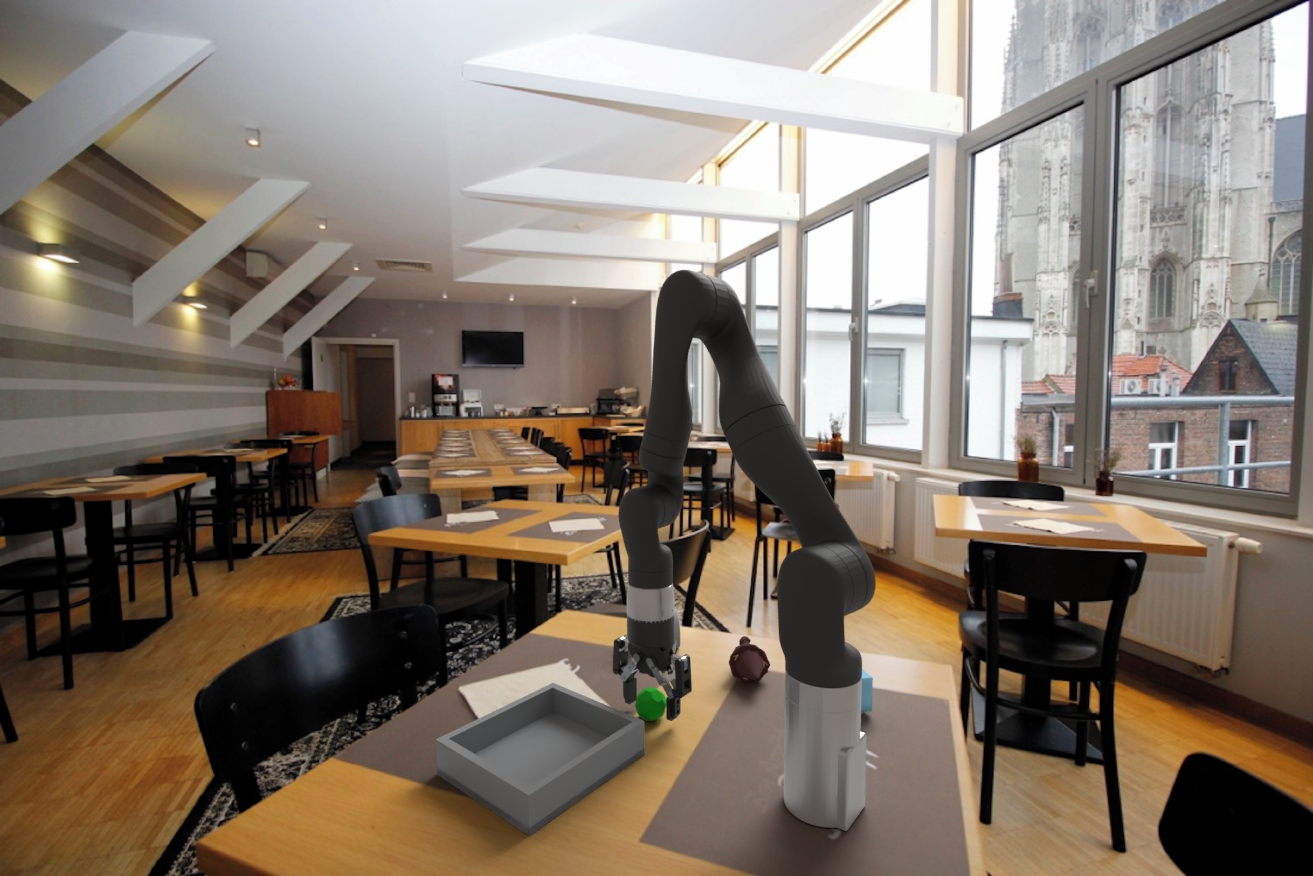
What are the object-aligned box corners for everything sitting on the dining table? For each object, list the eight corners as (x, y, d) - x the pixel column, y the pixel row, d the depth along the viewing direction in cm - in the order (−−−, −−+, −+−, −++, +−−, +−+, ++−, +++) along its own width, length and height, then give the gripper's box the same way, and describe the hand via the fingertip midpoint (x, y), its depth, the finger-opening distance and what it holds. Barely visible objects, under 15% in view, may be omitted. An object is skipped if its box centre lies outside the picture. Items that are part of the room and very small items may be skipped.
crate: (644, 754, 91) (644, 721, 90) (529, 836, 74) (528, 795, 74) (553, 712, 103) (553, 682, 102) (436, 774, 86) (435, 739, 86)
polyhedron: (631, 714, 102) (630, 685, 102) (658, 708, 104) (658, 680, 104) (642, 729, 97) (642, 699, 97) (671, 722, 99) (671, 693, 99)
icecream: (783, 663, 106) (764, 636, 121) (740, 652, 106) (727, 627, 121) (773, 703, 106) (755, 671, 121) (730, 693, 106) (718, 662, 121)
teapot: (808, 690, 110) (808, 648, 110) (840, 686, 111) (841, 645, 111) (841, 725, 98) (842, 678, 98) (876, 721, 100) (878, 675, 99)
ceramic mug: (637, 640, 132) (637, 604, 131) (676, 638, 133) (676, 602, 132) (642, 662, 122) (642, 624, 121) (684, 660, 123) (684, 622, 122)
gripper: (701, 614, 98) (701, 715, 99) (631, 595, 107) (632, 688, 108) (672, 628, 92) (672, 735, 93) (601, 607, 101) (602, 705, 102)
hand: (650, 710), depth 101 cm, fingers open, 8 cm apart
